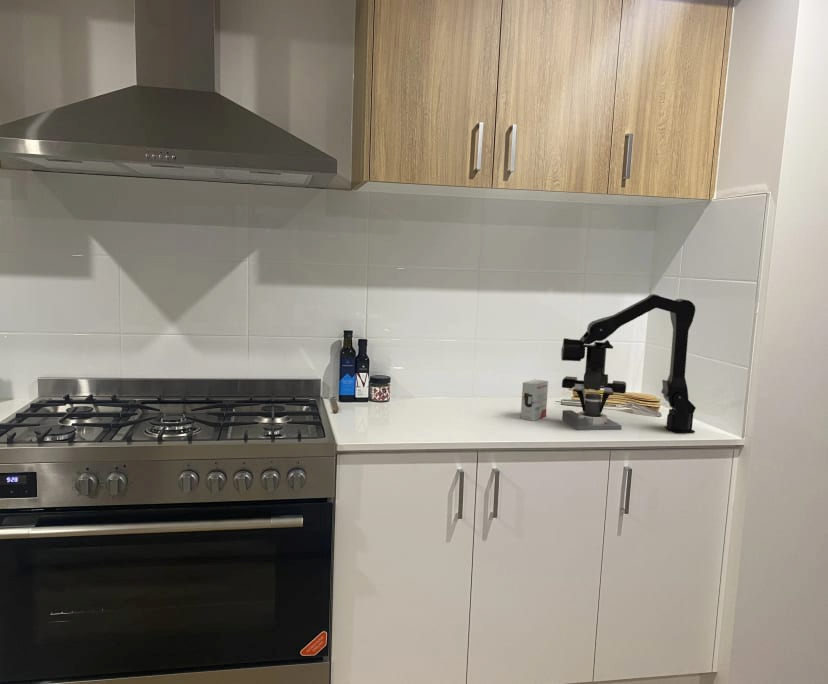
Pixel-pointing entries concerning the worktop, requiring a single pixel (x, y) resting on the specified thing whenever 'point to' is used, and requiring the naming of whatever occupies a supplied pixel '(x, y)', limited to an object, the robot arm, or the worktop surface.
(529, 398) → the ink box
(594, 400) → the lens
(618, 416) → the worktop surface
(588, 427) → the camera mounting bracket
